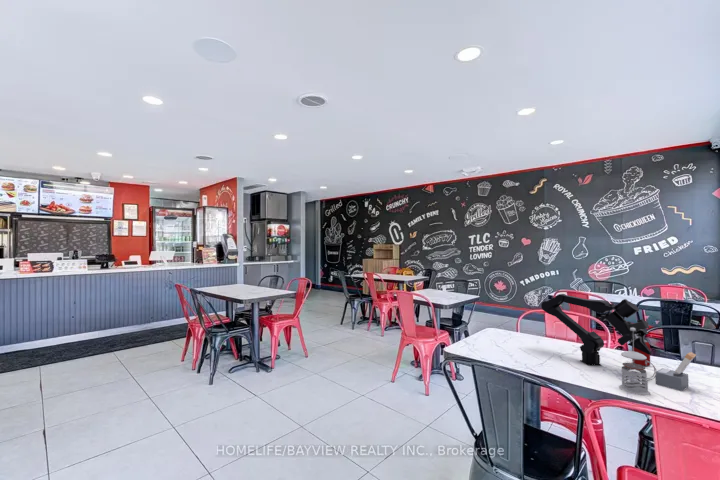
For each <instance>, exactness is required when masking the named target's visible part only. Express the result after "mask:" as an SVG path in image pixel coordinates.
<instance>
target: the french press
mask: <svg viewBox="0 0 720 480" xmlns="http://www.w3.org/2000/svg"><path fill="white" fill-rule="evenodd" d="M630 330H631V331H636V329H635V328H630ZM620 356H621V357H623V358H626V359H630V360H632V359H633V361H632V362H622V366H621V384H620V385H618V388H619V389H620V390H622V391H623V392H626V393H629V394H633V395H637V396H651V392H650V391H649V389H648V388H649V385H648V384H649V383H648V382H649V381H653V380H654V379H655V377H656V374H657V373H656V371H657V369H656V366H655V365H654V364H653V363H652V362H651V361H650V362H649V361H648V362H649V363H650V365H652V367H653V370H654V373H653V375H652V376H651V377H647V375H648V373H647V371H646V366H641V365H639V364H635V363H634V359H635V360H646V359H647V357H646V356H644V355H643V354H640V353H638V352H635V351H634V334H633V351H632V350H628V351H627V350H626V351H623V352H621V353H620ZM646 361H647V360H646ZM646 361H645V364H646V365H647V362H646Z"/></svg>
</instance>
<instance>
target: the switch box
mask: <svg viewBox="0 0 720 480" xmlns="http://www.w3.org/2000/svg"><path fill="white" fill-rule="evenodd" d="M655 372H656V373H657V374H656V377H655V378H654V379H655V385H658V386H661V387H665V388H668V389H673V390H676V391H680V392H682V391H684V390H686V389H687V388H688V387H689V384H690V383H689V374H688V373H684V371H683V372H682V373H680V374H677V373H675V370H672V369H668V368H663V367H662V368H660V369H658V370H655Z"/></svg>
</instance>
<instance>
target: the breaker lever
mask: <svg viewBox="0 0 720 480" xmlns="http://www.w3.org/2000/svg"><path fill="white" fill-rule="evenodd" d="M696 356H697V354H696V353H694V352H692V351H689V352H688V353H687V354H686V355H685V356H684V358H683V360H682V361H681V362H680V363H679V365H678V366H677V368H676V369H675V370H674V371H675V373H677V374H680V373H682V372H683V373H684V371H685V370H686V368H688V366H689V365H690V363H691V362H692V360H693V359H695V357H696Z"/></svg>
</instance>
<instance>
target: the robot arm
mask: <svg viewBox="0 0 720 480" xmlns="http://www.w3.org/2000/svg"><path fill="white" fill-rule="evenodd" d="M564 303H566V304H571V305H575V306H579V307H584V308H586V309H589V310H591V311H592V312H595V313H597V314H600V322H604V321H607V322H608V323H609V324H610V325H611V326H612V327H613V328H614V330H613V331H615V332H618V333H619V334H620V337H619V338H617V343H619V345H620V346H625V344H627V346H630V347H631V348H632V347H633V334H634V348H636V349H638V350H641V351H643V352H645V353H647V354H650V355H652V351H651V349H650V350H649V348H648V347H647V345H646V343H645V341H644V340H645V337H646V335H648V334H649V331H647V329H650V326H649V322H647V320H644V319H637V322H634V323H632V322H631V321H629V320H628V321H627V320H626V319H625V318H627V319H628V318H630V317H632V316H633V315H634V314H637V312H639V307H638V306H637V305H636V304H635V303H633V302H631V301H630V300H628V299H626V298H624V299H622V300H621V301H620V302H619V303H617V304H614V303H610V302H609V301H608V300H605V299H603V300H602V299H601V300H600V299H586V298H583V297H577V296H573V295H569V294H566V293H559V294H557V295H556V296H554V297H552V298H550V299H549V300H545V301H542V302H541V310H542V311H544V312H546V313H547V314H549V315H551V316H553V317H555V318H556V319H558V320H559V321H560V322H561V323H563V324H564V325H565V326H566V327H568V328H569V329H570V330H571V331H572V332H573V333H574V334H575V335H577V336H578V337H579V339H580V340H581V342H582V343H583V344H582V345H580V346H579V349H580V352H581V360H579V362H581V363H583V364H585V365H586V366H591V367H592V366H596V367H599V366H602V364H601V363H600V362H601V360H600V359H601V358H600V357H601V356H600V350H601V349H602V348H604V346H605V343H604V342H605V341H604V339H603V337H602V336H600V335H599V334H597V332H595V331H588V330H586V329H585V328H584V327H583V326H582V325H580V324H579V323H577V322H576V321H575V320H574V319H573V318H572V317H571V316H569V315H568V314H567V313H566V312H564V311H563V309H562V307H561V305H562V304H564ZM611 311H612V312H611ZM605 313H606V314H605ZM630 328H635V329H636V331H631V330H630Z"/></svg>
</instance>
